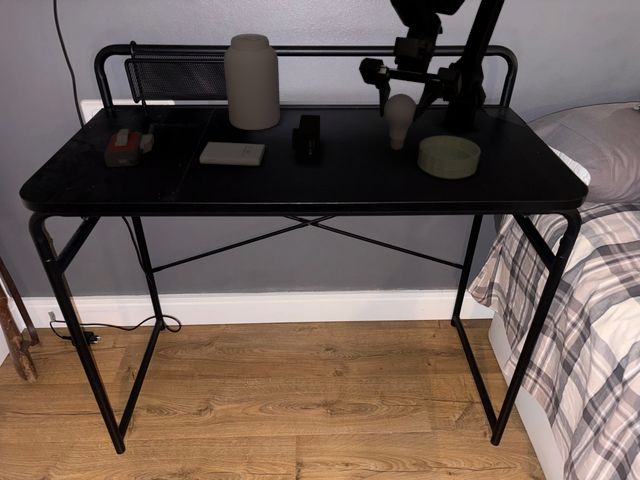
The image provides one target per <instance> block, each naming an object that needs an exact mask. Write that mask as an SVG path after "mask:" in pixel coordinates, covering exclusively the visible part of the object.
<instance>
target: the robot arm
mask: <svg viewBox="0 0 640 480" xmlns="http://www.w3.org/2000/svg"><path fill="white" fill-rule="evenodd" d="M389 2H390V5H391V6H392V8H393V10H394V12H395V13H396V15H397V17H398V18H399V20H400V22H401V23H402V25H403V26H404V27H406V28H408V29H407V32H406V36H405V37H404V36H396V37H395V41H394V45H393V51H392V55H391V56H392V57H394V60H393V62H394V65H395V66H396V68H395V67H389V66H387V65H385V63H384V60H383V59H382V58H375V57H364V58H363V59H361V61H360V64H359V66H358V72H359V74H360V76H361V79H362V81H363V83H365V84H366V85H370V86H374V87H375V89H377V90H378V97H379V98H378V100H379V101H378V102H379V103H378V104H379V117H380V118H383V117H384V106H385V104H386V102H387V101H388V99H389V98H390V96H391V95H390V94H391V91H392V87H391V85H390V81H391V80H397V81H403V82H409V83H417V84H424V85H423V90H422V93H421V95H420V98H419V101H418V103H417V105H416V107H417V108H416V111H415V114H414V118H413V122H412V123H417V122H418V121H419V120H420V118H421V117H422V116H423V115H424V114H425V112H426V111H427V110H428V108H429V107H431V106H432V105H433V104H434V103H435V102H436V101H437V100H442V102H447V109H446V110H445V114H444V120H443V121H442V122H440V126H441V127H443V128H445V129H446V130H448V131H450V132H452V133H453V134H455V135H458V134H464V133H469V132H475V131H477V130H478V127H477V126H475V125H474V122H475V118H476V112H477V109H478V110H479V109H482V108H483V106H484V105H485V102H486V99H487V93H486V92H485V89H484V87H483V83H484V79H485V75H484V70H483V61H484V58H485V56H486V54H487V50H488V47H489V45H490V42H491V39H492V36H493V34H494V32H495V28H496V26H497V24H498V20H499V18H500V15H501V13H502V9H503V7H504V4H505V2H506V0H480V2H479V5H478V8H477V10H476V14H475V16H474V20H473V22H472V25H471V28H470V31H469V34H468V37H467V39H466V42H465V45H464V48H463V50H462V54H461V56H460V57H459V58H458V59H457V60H456V61H455V62H450V63H449V65H448V67H444V66H439V68H438V69H437V73H432V72H428V71H429V68H430V64H431V62H432V60H433V58H434V56H435V52H436V46H437V41H438V36H439V35H443V34H444V28H443V25H442V20H441V18H440V15H443V16H444V15H445V16H450V17H451V16H454V15H455V14H456V13H457V12H458V11H459V10H460V9H461V7H462V6H463V5H464V3H465V2H466V0H389Z"/></svg>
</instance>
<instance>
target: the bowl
mask: <svg viewBox="0 0 640 480" xmlns="http://www.w3.org/2000/svg"><path fill="white" fill-rule="evenodd" d="M481 152H482V151H481V148H480V146H479V145H478V144H477V143H475V142H474V141H472V140H470V139H467V138H464V137H460V136H455V135H445V134H443V135H433V136H428V137H426V138H424V139H422V140H421V141H420V142H419V145H418V152H417V160H416V161H417V163H416V164H417V165H418V167H419V168H420V169H421V170H422V171H424V173H427V174H429V175H430V176H433V177H437V178H440V179H447V180H457V179H463V178H467V177H471V176H472V175H474V174H475V173H476V172H477V170H478V167H479V162H480V156H481Z"/></svg>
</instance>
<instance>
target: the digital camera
mask: <svg viewBox="0 0 640 480" xmlns="http://www.w3.org/2000/svg"><path fill="white" fill-rule="evenodd" d="M291 147H292V148H291V149H292V150H297V164H298V165H319V159H320V150H321V149H320V148H321V115H320V114H301V115H300V118H299V123H298V127H293V128H292V133H291Z"/></svg>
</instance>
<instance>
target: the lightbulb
mask: <svg viewBox="0 0 640 480" xmlns="http://www.w3.org/2000/svg"><path fill="white" fill-rule="evenodd" d="M416 108H417V104H416V102H415V100H414V99H413V98H412V97H411V96H410V95H407V94H406V93H397V94H393V95H392V96H389V99H388V101H387V102H386V104H385V106H384V115H383V117H384V119H385V122H386V123H387V126H388V131H389V133H388V134H389V136H388V137H389V138H390V140H389V147H390V148H391V149H393V150H394V151H399V150H402V149H403V148H404V143H405V139H406V137H407V133H408V130H409V128H410V126H411V125H412V124H413V123H414V122H413V118H414V114H415V111H416Z"/></svg>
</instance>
